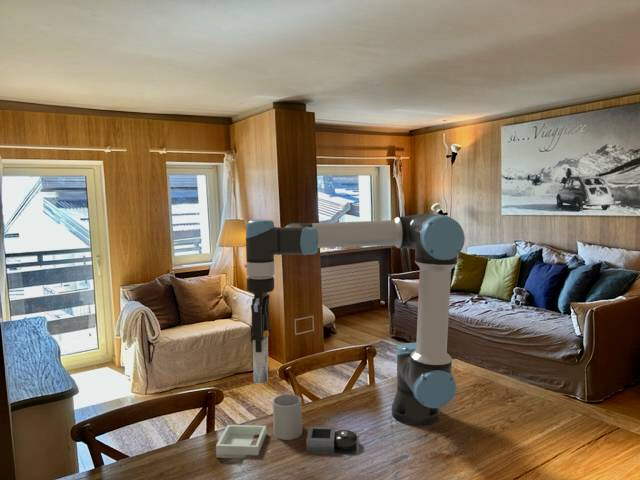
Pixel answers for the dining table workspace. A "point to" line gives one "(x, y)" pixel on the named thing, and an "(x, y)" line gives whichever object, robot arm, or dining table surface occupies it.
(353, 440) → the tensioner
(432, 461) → the dining table surface
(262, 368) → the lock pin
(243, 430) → the tray
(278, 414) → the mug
